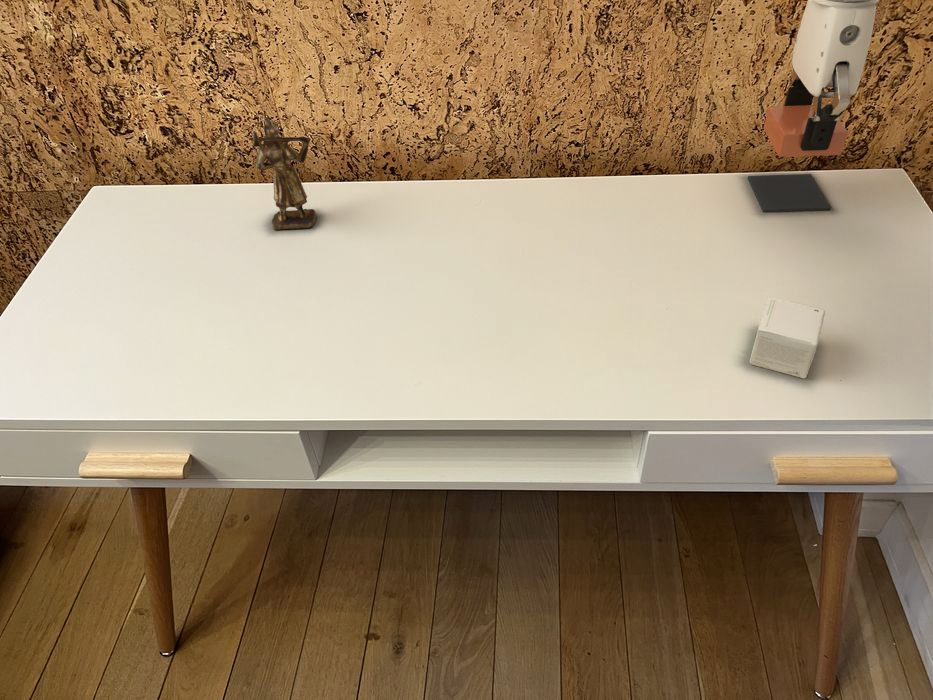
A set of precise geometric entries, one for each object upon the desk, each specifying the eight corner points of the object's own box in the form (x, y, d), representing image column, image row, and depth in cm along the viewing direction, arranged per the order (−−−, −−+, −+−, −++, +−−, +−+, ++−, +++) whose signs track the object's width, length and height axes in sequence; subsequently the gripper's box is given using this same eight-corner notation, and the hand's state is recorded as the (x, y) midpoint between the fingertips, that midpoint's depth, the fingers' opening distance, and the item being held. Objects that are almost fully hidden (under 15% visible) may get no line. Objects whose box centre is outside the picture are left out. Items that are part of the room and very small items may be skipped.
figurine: (329, 212, 101) (306, 109, 90) (325, 228, 98) (300, 123, 87) (276, 215, 101) (247, 112, 91) (270, 231, 98) (240, 126, 88)
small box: (758, 330, 79) (768, 295, 75) (814, 345, 77) (828, 309, 73) (746, 364, 75) (757, 329, 72) (805, 381, 73) (819, 345, 70)
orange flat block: (841, 155, 89) (848, 132, 87) (778, 157, 90) (784, 134, 88) (822, 126, 94) (828, 104, 92) (763, 128, 95) (768, 106, 93)
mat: (830, 210, 94) (831, 207, 94) (762, 212, 94) (763, 209, 94) (810, 176, 100) (811, 173, 100) (747, 178, 101) (747, 175, 100)
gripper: (914, 8, 73) (859, 167, 85) (854, -45, 85) (813, 100, 97) (836, 12, 73) (792, 170, 85) (788, -42, 86) (755, 102, 98)
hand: (803, 132), depth 91 cm, fingers closed on orange flat block, 7 cm apart
